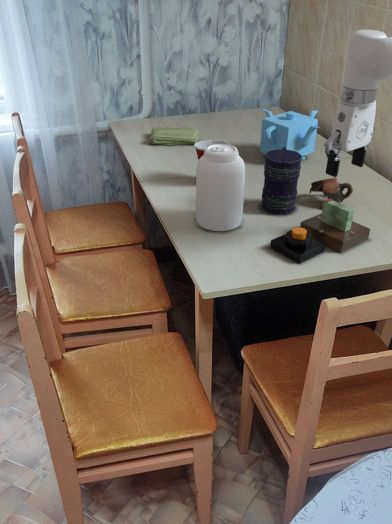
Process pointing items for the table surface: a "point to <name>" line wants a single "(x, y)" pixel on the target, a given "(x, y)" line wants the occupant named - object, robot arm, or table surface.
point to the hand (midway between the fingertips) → (344, 170)
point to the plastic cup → (202, 146)
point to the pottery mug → (331, 189)
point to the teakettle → (289, 132)
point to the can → (220, 188)
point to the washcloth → (174, 135)
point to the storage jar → (280, 181)
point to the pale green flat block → (337, 215)
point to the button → (299, 233)
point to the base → (335, 233)
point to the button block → (297, 247)
